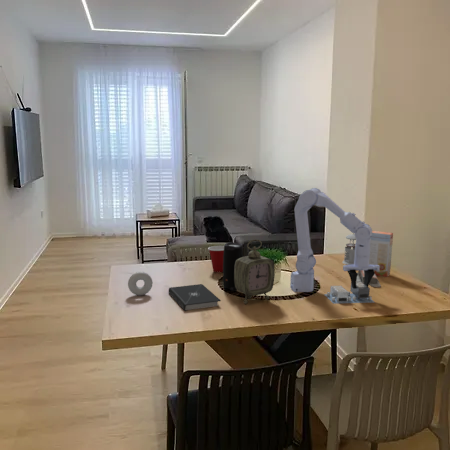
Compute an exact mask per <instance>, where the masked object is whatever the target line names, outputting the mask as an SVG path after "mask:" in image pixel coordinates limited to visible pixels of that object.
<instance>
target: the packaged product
mask: <svg viewBox="0 0 450 450" xmlns="http://www.w3.org/2000/svg"><path fill="white" fill-rule="evenodd" d="M356 273H357V274H358V275H357V279H356V282H361V281H362V282H363V283H364V270H359V271H357V272H356ZM368 286H370V287H373V288H381V287H382V286H381V283H380V281H379V279H378V276H377V275H375V274H374V276H373V277H372V279H371V280H370V283H369V285H368Z"/></svg>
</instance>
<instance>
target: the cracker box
mask: <svg viewBox="0 0 450 450" xmlns="http://www.w3.org/2000/svg"><path fill="white" fill-rule="evenodd" d="M393 238H394V233H393V232H388V231H378V230H372V235H371V236H370V257H369V264H371V265H379V266H380V268H379V271H377V270H374V272H375V275H376V277H378V276H379V277H382V278H383V277H384V278H389V276H390V275H391V267H392V266H391V265H392V252H393V240H394V239H393Z"/></svg>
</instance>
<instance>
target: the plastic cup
mask: <svg viewBox="0 0 450 450" xmlns="http://www.w3.org/2000/svg"><path fill="white" fill-rule="evenodd" d="M224 246H225V245H214V246H212V245H211V246H209V247H208V248H207V250H208V251H209V255H210V260H211V261H210V262H211V265H212V271H213V272H215V273H223V254H224Z"/></svg>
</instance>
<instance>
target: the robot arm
mask: <svg viewBox="0 0 450 450" xmlns="http://www.w3.org/2000/svg"><path fill="white" fill-rule="evenodd" d="M314 205H315V206H317V207H324V208H326V209H327V210H328V211H330V212H331V213H333V214H334V216H336V217H338V218H339V221H340V224H341V225H343V226H344V227H345V228H346V229H348V231H350V232H351V233H352V234H353V233H354V234H355V237H356V240H355V243H354V244H355V258H354V264H352V265H347V264H344V265H342V270H343V271H344V272H347V274H348V276H349V279H350V284H351V283H352V288H354V289H356V279H357V275H358V274H357V273H358V271H359V270H364V284H365V285H366V286H368V287H369V286H370V285H369V283H370V280H371V279H372V277H373V276H374V274H375V272H374V270H377V271H379V268H380V266H379V265H371V264H369V257H370V236H371V235H372V231H373V228H372V226H370V225H369V224H368V223H366V222H365V221H362V220H360V219H359V218H358V217H357V216H356V213H355V212H350V211H345V210H344V209H343V208H342V207H341V206H339V204H337V203H336V202H335V201H333V199H331V197H329V196H328V195H327V194H326V193H325V192H323V191H321V190H320V189H319V188H318V187H312V188H310V189H307V190H304V191H303V192H302V193H301V194H300V195H299V197H298V200H297V202H296V203H295V206H294V219H295V220H294V221H295V227H296V237H297V248H298V251H297V254H296V262H295V269H296V270H295V271H292V272H291V273H290V283H289V284H290V285H289V288H290V289H291V290H292V292H294V293H300V292H302V293H309V292H311V293H312V292H313V291H314V281H315V270H314V267H315V266H316V263H317V260H316V257H315V256H314V251H313V249H312V246H311V245H312V244H311V236H310V225H309V214H308V211H309V210H310V209H312V207H313V206H314Z"/></svg>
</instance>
